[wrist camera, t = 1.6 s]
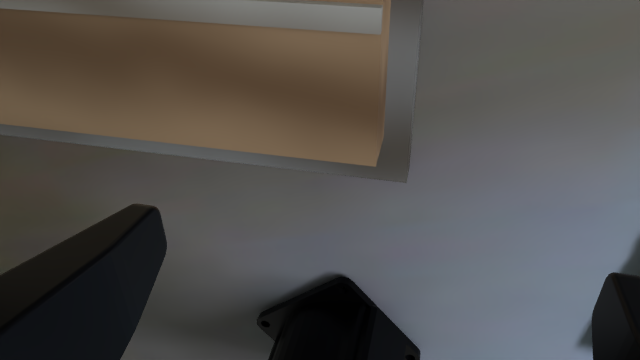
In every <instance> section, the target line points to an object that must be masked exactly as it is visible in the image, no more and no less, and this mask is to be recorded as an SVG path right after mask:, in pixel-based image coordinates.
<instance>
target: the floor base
mask: <svg viewBox="0 0 640 360" xmlns="http://www.w3.org/2000/svg"><path fill="white" fill-rule="evenodd" d="M423 1H424V0H0V135H7V136H15V137H24V138H32V139H40V140H49V141H57V142H66V143H74V144H83V145H91V146H100V147H108V148H116V149H125V150H133V151H142V152H150V153H159V154H167V155H176V156H184V157H192V158H201V159H209V160H218V161H226V162H235V163H243V164H251V165H260V166H268V167H277V168H285V169H294V170H302V171H311V172H319V173H327V174H336V175H344V176H353V177H361V178H370V179H378V180H386V181H395V182H403V183H406V182H407V177H408V172H409V163H410V152H411V140H412V128H413V117H414V105H415V94H416V82H417V71H418V59H419V47H420V36H421V24H422V13H423Z"/></svg>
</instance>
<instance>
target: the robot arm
mask: <svg viewBox="0 0 640 360" xmlns="http://www.w3.org/2000/svg"><path fill="white" fill-rule="evenodd" d="M166 249H167V241H166V237H165V232H164V228H163V223H162V219H161V215H160V212H159V210H158V208H157V207H155V206H150V205H143V204H132V205H130V206H128V207H126V208H124V209H122V210H120V211H119V212H117V213H115V214H113V215H111V216H109V217H107V218H106V219H104V220H102V221H100V222H98V223H96V224H95V225H93V226H91V227H89V228H87V229H85V230H83V231H82V232H80V233H78V234H76V235H74V236H72V237H70V238H69V239H67V240H65V241H63V242H61V243H59V244H57V245H56V246H54V247H52V248H50V249H48V250H46V251H44V252H43V253H41V254H39V255H37V256H35V257H33V258H31V259H30V260H28V261H26V262H24V263H22V264H20V265H18V266H17V267H15V268H13V269H11V270H9V271H7V272H5V273H4V274H2V275H0V360H120V359H121V357H122V355H123V353H124V351H125V349H126V347H127V345H128V343H129V341H130V339H131V337H132V335H133V333H134V332H135V329H136V327H137V325H138V322H139V320H140V318H141V315H142V313H143V310H144V308H145V305H146V303H147V300H148V297H149V295H150V292H151V290H152V287H153V285H154V282H155V280H156V277H157V275H158V272H159V270H160V267H161V265H162V262H163V260H164V257H165V254H166ZM343 287H346V288H343ZM257 325H258V326H259V327H260V328H261V329H262V330H263V331H264V332H265V333H266V334H268V335H269V336H270V337H271V338H272V339H273V340H274V341H275V343H274V345H273V348H272V351H271V354H270V356H269V359H268V360H420V350H419V349H418V348H417V347H416V346H415V345H414V344H413V343H412V341H411V340H410V339H409V338H408V337H407V336H406V335H405V334H404V333H403V332H402V331H401V330H400V329H399V328H398V327H397V326H396V325H395V324H394V323H393V322H392V321H391V320H390V319H389V318H388V317H387V316H386V315H385V314H384V313H383V312H382V311H381V310H380V309H379V308H378V307H377V306H376V305H375V304H374V303H373V301H372V300H371V299H370V298H369V297H368V296H367V295H366V294H365V293H364V292H363V291H362V290H361V289H360V288H359V287H358V286H357V285H356V284H355V283H354V282H353V281H352V280H351V279H349V278H346V277H340V278H337V279H335V280H332V281H330V282H328V283H326V284H324V285H321V286H319V287H317V288H315V289H313V290H310V291H308V292H306V293H304V294H302V295H299V296H297V297H295V298H293V299H291V300H288V301H286V302H284V303H282V304H280V305H277V306H275V307H273V308H271V309H269V310H266V311H264V312H262V313H261V314H260V315H259V317H258V319H257ZM592 343H593V360H640V277H639V276H636V275H629V274H622V273H611V274H609V275H608V276H607V277H606V279H605V282H604V284H603V287H602V289H601V292H600V294H599V297H598V299H597V302H596V305H595V307H594V310H593V314H592Z"/></svg>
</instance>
